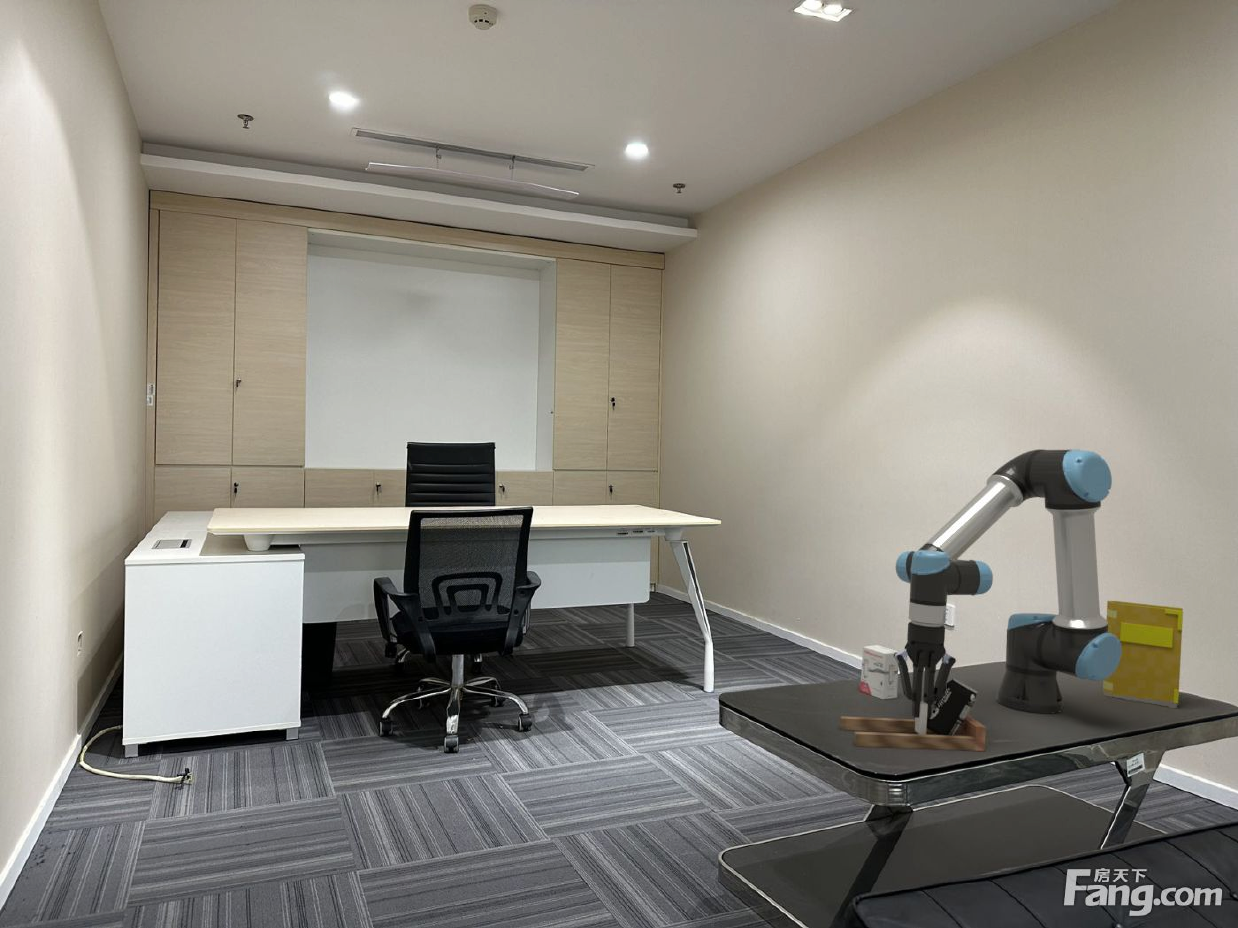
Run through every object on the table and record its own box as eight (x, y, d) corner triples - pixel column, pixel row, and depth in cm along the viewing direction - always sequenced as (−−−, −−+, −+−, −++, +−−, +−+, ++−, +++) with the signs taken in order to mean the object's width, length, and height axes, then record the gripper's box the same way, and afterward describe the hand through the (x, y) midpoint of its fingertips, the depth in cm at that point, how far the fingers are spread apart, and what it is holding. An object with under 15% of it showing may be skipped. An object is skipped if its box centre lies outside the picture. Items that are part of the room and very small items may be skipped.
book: (1177, 703, 224) (1182, 608, 224) (1178, 708, 219) (1183, 611, 218) (1103, 691, 233) (1108, 599, 233) (1102, 696, 228) (1106, 602, 228)
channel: (960, 732, 190) (961, 709, 190) (984, 750, 178) (985, 727, 178) (839, 727, 190) (840, 704, 190) (855, 745, 178) (856, 721, 178)
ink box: (859, 690, 222) (861, 645, 222) (873, 689, 224) (875, 644, 224) (883, 700, 214) (885, 652, 214) (897, 698, 216) (900, 651, 216)
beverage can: (917, 720, 187) (945, 673, 187) (942, 734, 188) (970, 686, 187) (931, 732, 180) (959, 682, 180) (957, 746, 181) (985, 697, 181)
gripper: (949, 621, 188) (943, 728, 188) (890, 618, 188) (884, 725, 188) (963, 627, 180) (957, 739, 180) (902, 624, 180) (896, 736, 180)
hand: (920, 732), depth 184 cm, fingers closed
